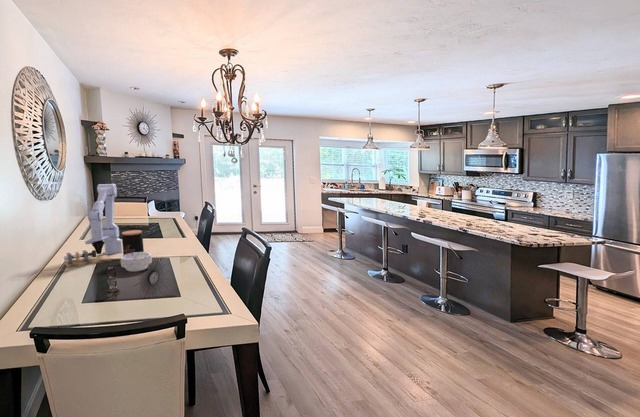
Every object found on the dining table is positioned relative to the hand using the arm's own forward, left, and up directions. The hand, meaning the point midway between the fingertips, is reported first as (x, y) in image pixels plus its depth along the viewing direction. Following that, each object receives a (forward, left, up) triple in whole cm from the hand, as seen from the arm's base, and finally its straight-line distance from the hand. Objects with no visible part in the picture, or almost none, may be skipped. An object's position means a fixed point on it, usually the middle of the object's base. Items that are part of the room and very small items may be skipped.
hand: (99, 253), depth 234 cm
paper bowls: (-11, +36, -4) cm, 38 cm away
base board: (+6, 0, -4) cm, 7 cm away
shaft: (+10, 0, -1) cm, 10 cm away
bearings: (+11, 0, -2) cm, 11 cm away
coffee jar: (-14, +20, -4) cm, 25 cm away
